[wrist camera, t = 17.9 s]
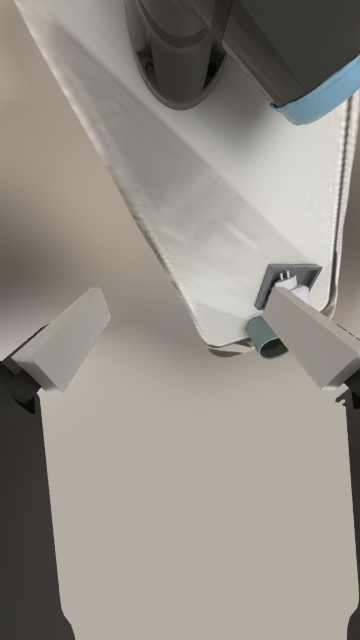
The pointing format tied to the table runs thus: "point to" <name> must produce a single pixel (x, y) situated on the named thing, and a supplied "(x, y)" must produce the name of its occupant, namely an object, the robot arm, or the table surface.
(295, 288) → the charger
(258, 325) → the green cup
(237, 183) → the table surface
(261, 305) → the gray square tray
